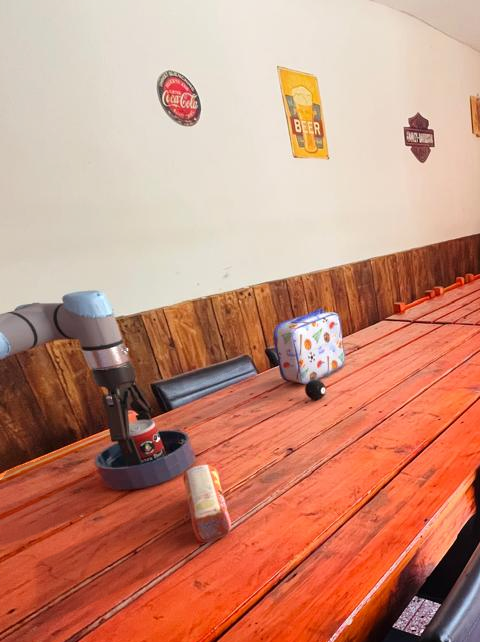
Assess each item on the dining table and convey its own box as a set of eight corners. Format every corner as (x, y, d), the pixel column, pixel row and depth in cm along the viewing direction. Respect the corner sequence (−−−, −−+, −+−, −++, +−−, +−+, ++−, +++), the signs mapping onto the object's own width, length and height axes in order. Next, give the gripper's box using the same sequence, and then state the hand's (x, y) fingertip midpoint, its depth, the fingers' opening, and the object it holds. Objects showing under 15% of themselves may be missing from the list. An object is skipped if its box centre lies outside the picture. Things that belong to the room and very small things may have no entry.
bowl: (83, 489, 116) (73, 466, 113) (149, 449, 133) (141, 428, 130) (155, 495, 112) (145, 471, 109) (213, 453, 129) (206, 431, 126)
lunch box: (329, 361, 192) (318, 302, 182) (352, 363, 189) (342, 303, 179) (279, 387, 169) (263, 321, 160) (305, 390, 166) (290, 323, 156)
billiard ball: (315, 394, 162) (311, 376, 159) (331, 396, 160) (327, 378, 157) (303, 401, 157) (299, 383, 154) (319, 403, 155) (315, 384, 152)
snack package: (235, 535, 97) (225, 505, 94) (197, 547, 94) (186, 517, 91) (222, 486, 114) (213, 459, 111) (189, 495, 111) (179, 469, 108)
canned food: (139, 479, 117) (122, 437, 112) (128, 469, 122) (111, 428, 117) (174, 466, 122) (159, 424, 117) (162, 456, 127) (147, 416, 122)
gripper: (110, 381, 101) (146, 473, 110) (145, 347, 122) (173, 427, 132) (67, 386, 99) (107, 480, 108) (110, 351, 120) (140, 431, 130)
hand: (143, 451), depth 120 cm, fingers open, 13 cm apart
